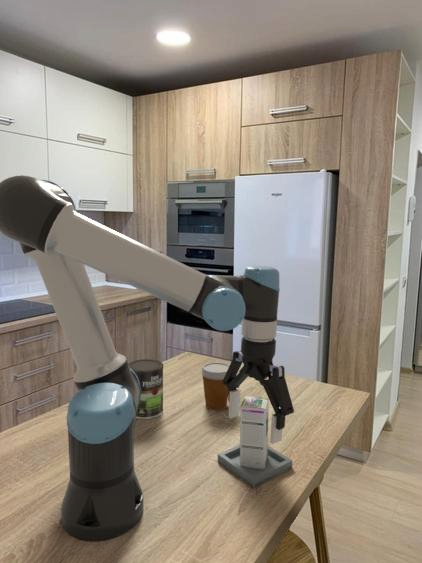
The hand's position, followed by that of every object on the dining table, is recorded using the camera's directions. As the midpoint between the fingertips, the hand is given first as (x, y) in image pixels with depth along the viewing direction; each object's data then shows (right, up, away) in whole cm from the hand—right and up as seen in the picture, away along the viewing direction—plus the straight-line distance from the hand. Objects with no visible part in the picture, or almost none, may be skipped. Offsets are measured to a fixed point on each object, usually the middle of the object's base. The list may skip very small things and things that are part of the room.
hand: (253, 428), depth 95 cm
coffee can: (-29, -5, +27) cm, 39 cm away
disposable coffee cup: (-8, -4, +31) cm, 33 cm away
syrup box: (0, -8, +2) cm, 8 cm away
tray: (0, -9, +1) cm, 9 cm away
